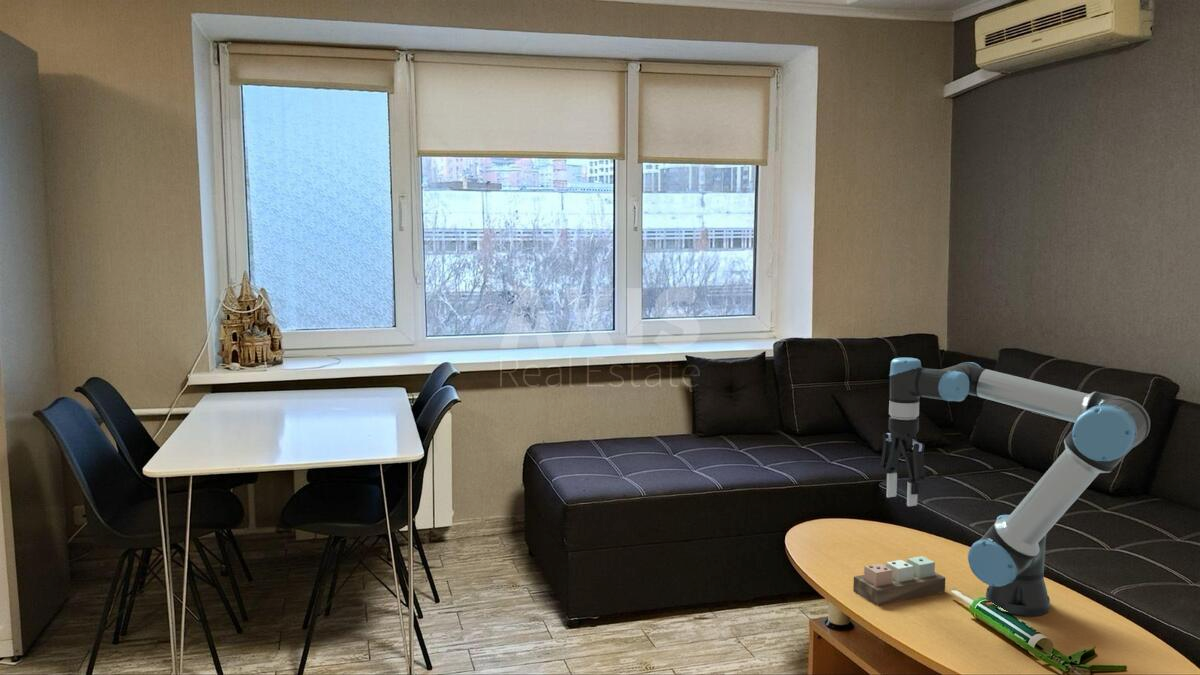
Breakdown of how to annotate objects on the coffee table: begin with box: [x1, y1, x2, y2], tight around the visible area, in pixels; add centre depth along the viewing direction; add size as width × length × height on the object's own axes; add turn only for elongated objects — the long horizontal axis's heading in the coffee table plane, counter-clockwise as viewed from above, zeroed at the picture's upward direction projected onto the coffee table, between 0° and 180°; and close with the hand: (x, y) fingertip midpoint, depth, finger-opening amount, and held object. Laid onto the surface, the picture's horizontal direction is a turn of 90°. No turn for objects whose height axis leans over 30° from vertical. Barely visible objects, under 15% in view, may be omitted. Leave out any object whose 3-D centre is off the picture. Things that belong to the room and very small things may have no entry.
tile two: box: [885, 559, 914, 582], centre depth 244 cm, size 5×5×5 cm
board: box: [852, 571, 946, 606], centre depth 244 cm, size 10×22×4 cm, turn 111°
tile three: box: [863, 563, 892, 586], centre depth 241 cm, size 5×5×5 cm
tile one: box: [906, 555, 936, 578], centre depth 246 cm, size 5×5×5 cm
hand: (901, 500), depth 241 cm, fingers open, 8 cm apart
